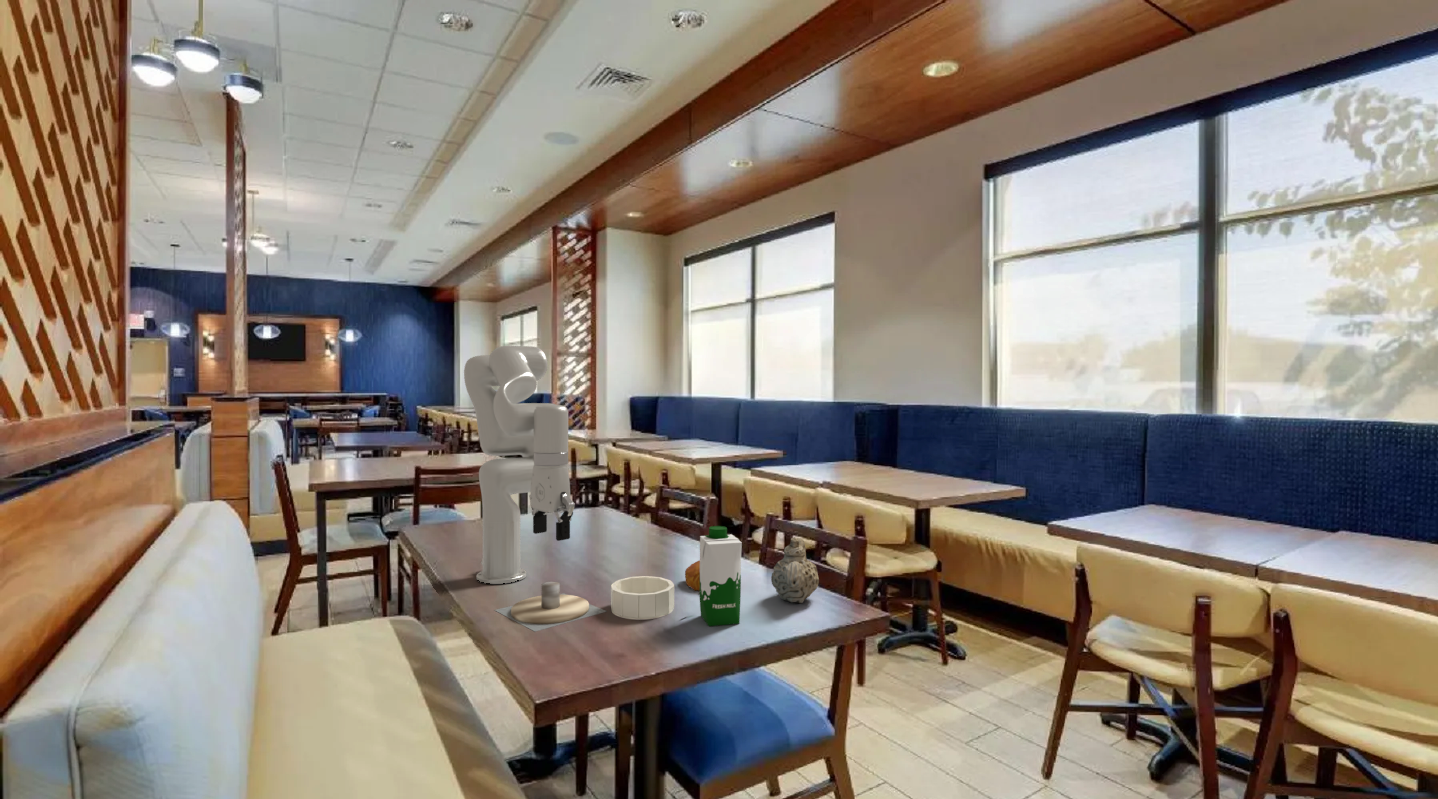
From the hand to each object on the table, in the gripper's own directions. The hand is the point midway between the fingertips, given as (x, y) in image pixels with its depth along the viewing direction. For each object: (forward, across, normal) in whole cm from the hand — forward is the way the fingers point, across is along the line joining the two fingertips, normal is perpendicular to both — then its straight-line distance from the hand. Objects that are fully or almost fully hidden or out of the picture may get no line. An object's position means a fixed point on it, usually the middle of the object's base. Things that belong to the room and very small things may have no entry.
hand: (551, 536), depth 153 cm
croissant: (+18, +9, +42) cm, 47 cm away
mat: (+18, 0, 0) cm, 18 cm away
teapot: (+18, +31, +49) cm, 60 cm away
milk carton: (+18, +29, +25) cm, 42 cm away
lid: (+17, 0, 0) cm, 17 cm away
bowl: (+18, +13, +16) cm, 27 cm away
